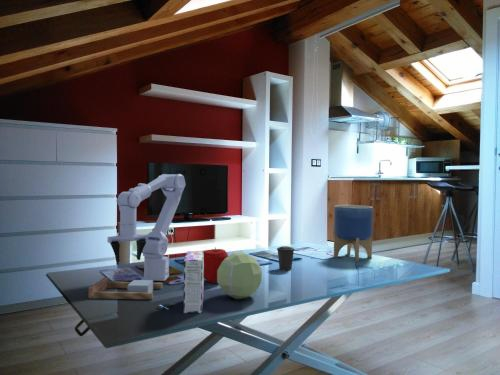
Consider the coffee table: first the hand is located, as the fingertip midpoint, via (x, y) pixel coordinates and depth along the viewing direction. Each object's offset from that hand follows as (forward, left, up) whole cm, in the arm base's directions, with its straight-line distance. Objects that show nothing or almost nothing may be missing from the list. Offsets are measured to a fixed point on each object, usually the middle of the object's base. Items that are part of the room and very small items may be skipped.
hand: (128, 260), depth 148 cm
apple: (-31, -9, -10) cm, 34 cm away
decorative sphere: (-42, +10, -10) cm, 44 cm away
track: (-3, +8, -10) cm, 13 cm away
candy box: (-28, +20, -10) cm, 36 cm away
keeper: (-7, +8, -10) cm, 15 cm away
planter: (-96, -60, -10) cm, 114 cm away
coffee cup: (-60, -32, -10) cm, 69 cm away
